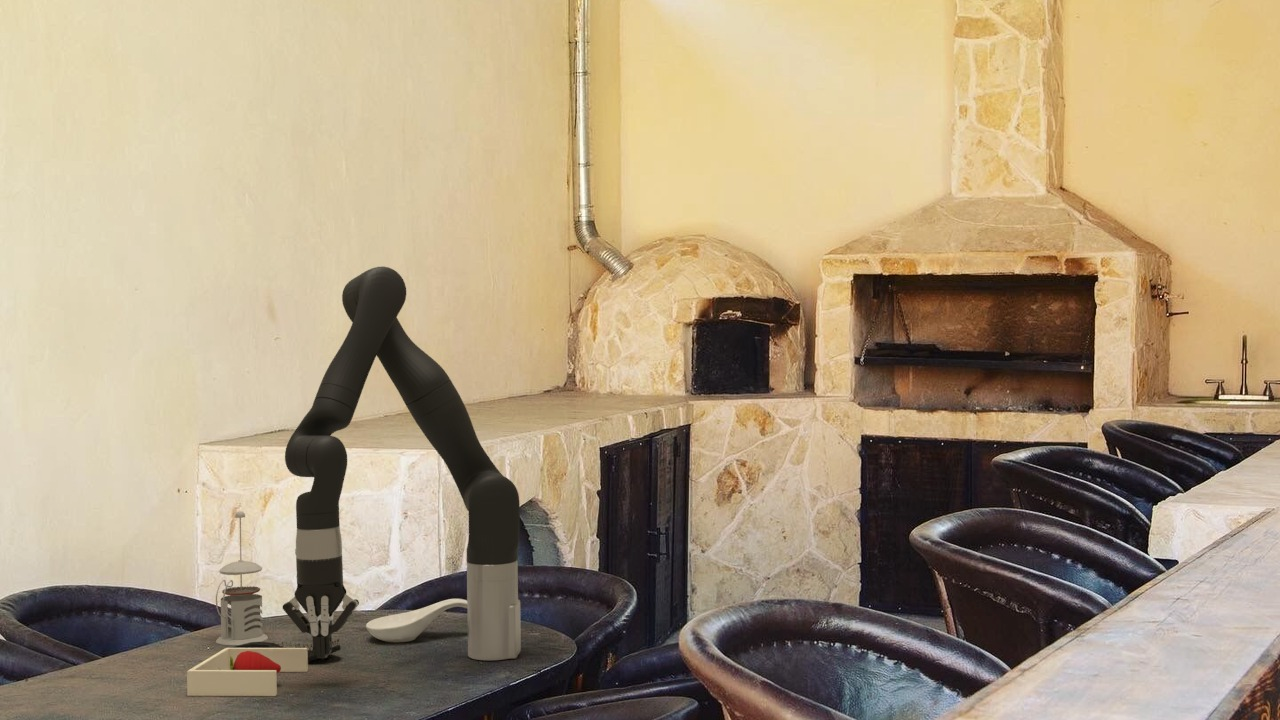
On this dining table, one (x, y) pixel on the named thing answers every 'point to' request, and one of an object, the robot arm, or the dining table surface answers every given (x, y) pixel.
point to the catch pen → (243, 673)
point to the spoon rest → (409, 622)
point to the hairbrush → (273, 645)
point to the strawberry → (253, 662)
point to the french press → (240, 605)
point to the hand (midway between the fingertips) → (322, 657)
